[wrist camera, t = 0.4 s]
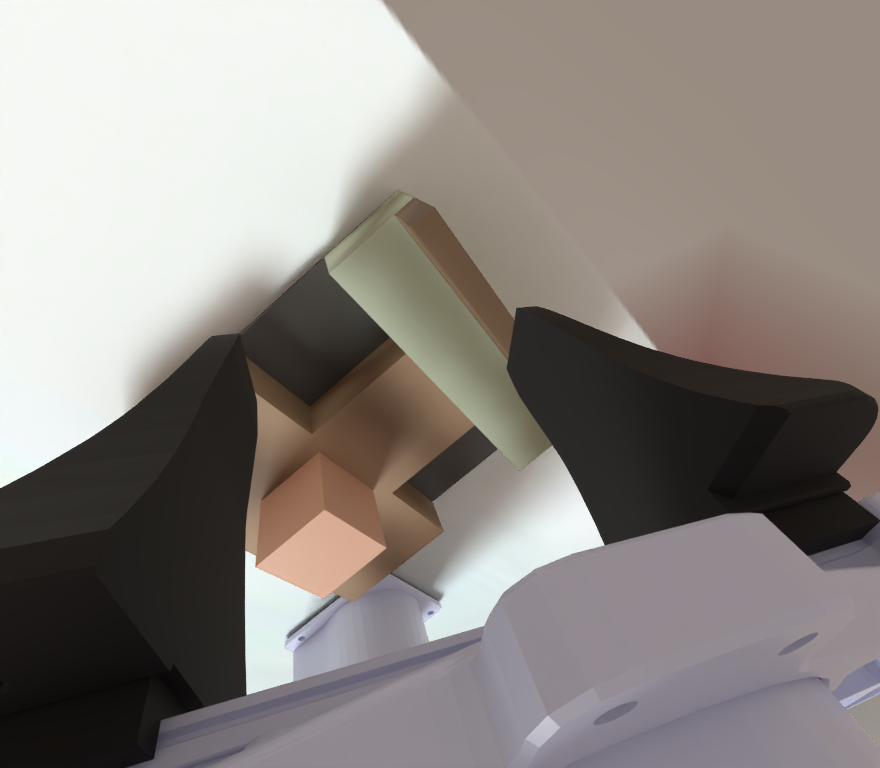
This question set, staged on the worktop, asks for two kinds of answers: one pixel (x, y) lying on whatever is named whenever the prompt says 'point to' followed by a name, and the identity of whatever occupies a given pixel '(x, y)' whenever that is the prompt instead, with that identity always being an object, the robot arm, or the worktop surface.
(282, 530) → the block
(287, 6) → the worktop surface
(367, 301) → the board
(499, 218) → the worktop surface
